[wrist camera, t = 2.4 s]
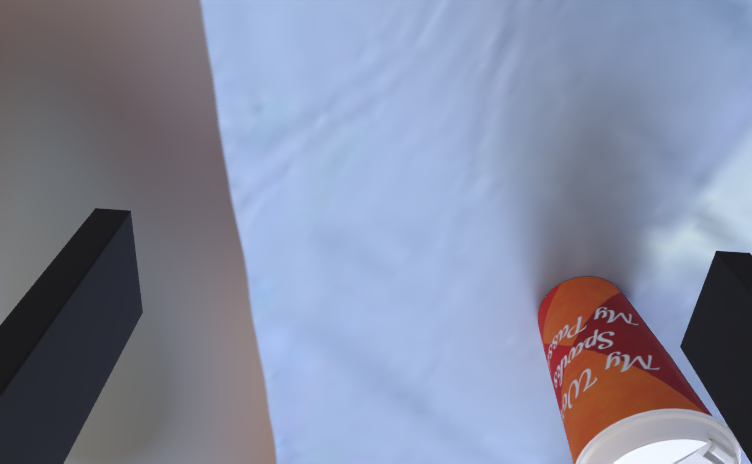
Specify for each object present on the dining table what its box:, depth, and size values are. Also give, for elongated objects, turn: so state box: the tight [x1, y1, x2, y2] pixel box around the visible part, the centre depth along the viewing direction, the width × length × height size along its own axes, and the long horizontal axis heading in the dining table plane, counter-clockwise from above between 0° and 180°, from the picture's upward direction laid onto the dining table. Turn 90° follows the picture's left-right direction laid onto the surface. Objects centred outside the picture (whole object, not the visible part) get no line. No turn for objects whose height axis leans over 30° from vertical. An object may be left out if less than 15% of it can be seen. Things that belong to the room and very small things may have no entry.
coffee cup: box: [538, 277, 741, 464], centre depth 39 cm, size 8×8×15 cm
